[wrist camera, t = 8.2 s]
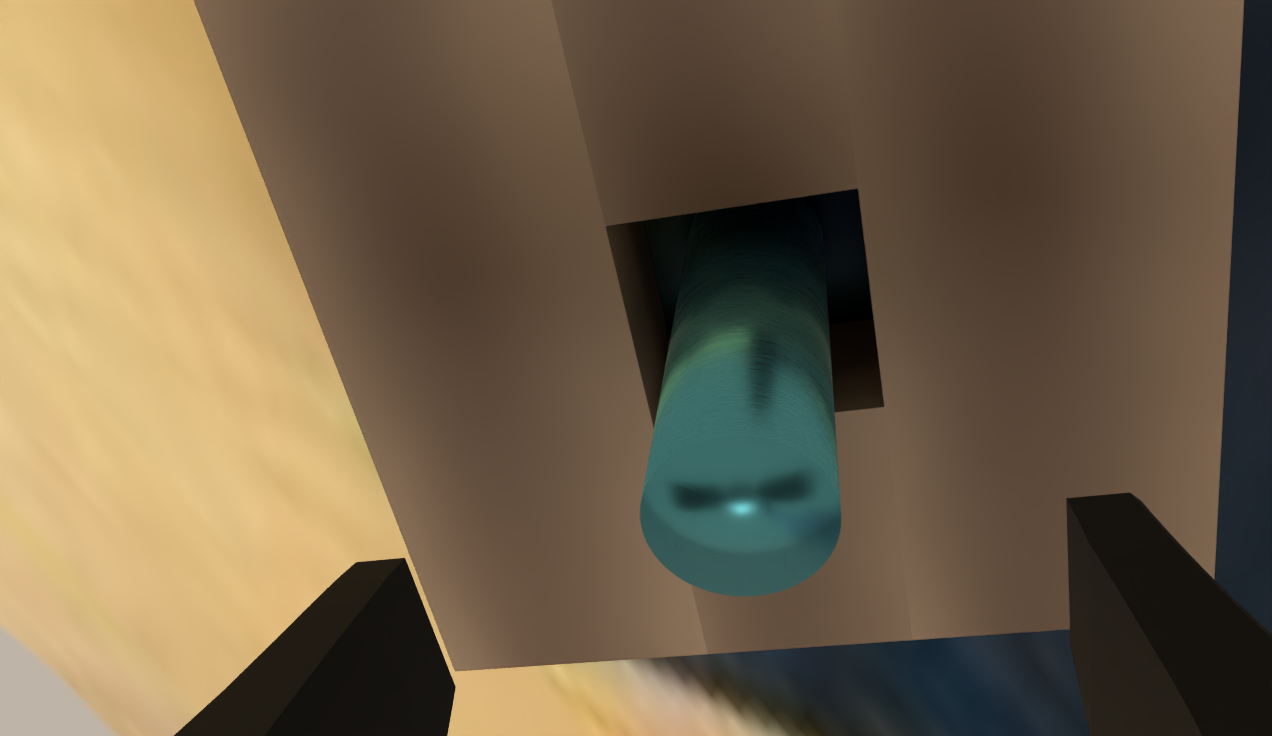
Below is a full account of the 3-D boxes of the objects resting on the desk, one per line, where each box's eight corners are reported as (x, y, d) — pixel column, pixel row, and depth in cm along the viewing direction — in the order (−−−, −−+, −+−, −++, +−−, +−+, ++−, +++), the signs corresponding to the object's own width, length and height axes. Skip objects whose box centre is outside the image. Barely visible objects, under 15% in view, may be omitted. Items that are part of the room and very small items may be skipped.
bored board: (1183, -296, 16) (1259, -292, 13) (1163, 512, 22) (1212, 619, 20) (257, -91, 18) (172, -55, 16) (488, 571, 25) (454, 671, 23)
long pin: (819, 173, 20) (836, 431, 13) (826, 297, 21) (845, 594, 14) (682, 184, 20) (627, 441, 13) (696, 305, 21) (652, 598, 14)
